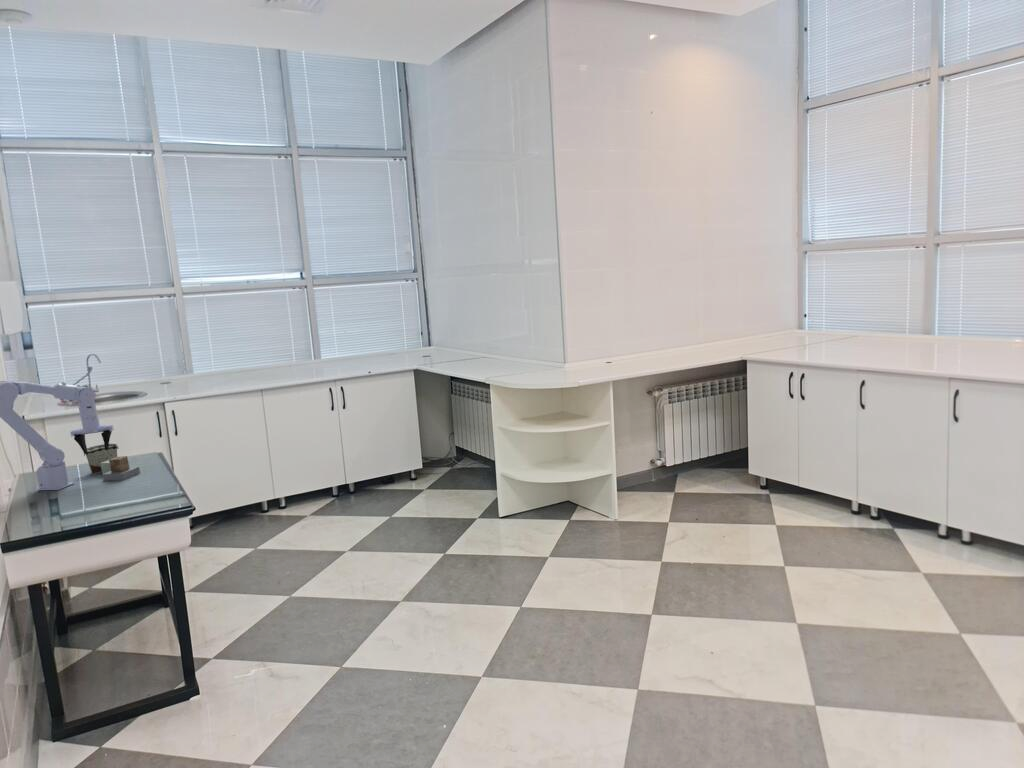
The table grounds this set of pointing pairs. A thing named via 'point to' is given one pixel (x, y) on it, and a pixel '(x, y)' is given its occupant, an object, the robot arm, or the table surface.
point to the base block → (121, 474)
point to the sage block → (105, 467)
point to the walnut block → (119, 464)
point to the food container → (100, 456)
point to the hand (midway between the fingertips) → (96, 451)
